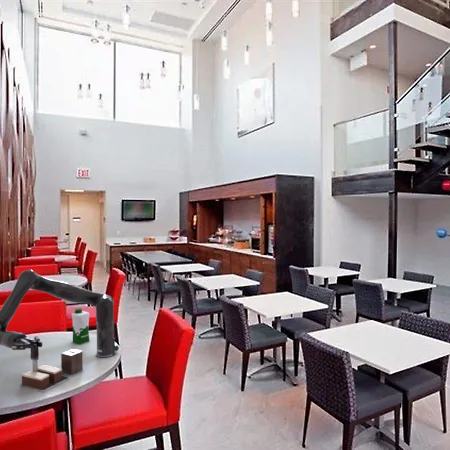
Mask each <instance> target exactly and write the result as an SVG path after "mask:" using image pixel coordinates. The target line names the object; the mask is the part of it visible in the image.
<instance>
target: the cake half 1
mask: <svg viewBox="0 0 450 450" xmlns="http://www.w3.org/2000/svg"><path fill="white" fill-rule="evenodd" d="M21 383H22V384H21V385H22V386H25V387H29V388H33V389H37V390H40V391H43V390H42V389H43V388H45V387H47V386H49V375H48V374H44V373H39V372H35V371H33V370H28V371H26V372H24V373H22V374H21Z"/></svg>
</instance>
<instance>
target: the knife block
mask: <svg viewBox="0 0 450 450" xmlns="http://www.w3.org/2000/svg"><path fill="white" fill-rule="evenodd" d="M60 360H61V361H60V364H61V365H60V367H61V368H60V369H62V374H65V375H68V376H74V375H75V374H77V373H79V372H81V371H83V370H84V369H83V367H84V366H83V350H81V349H74V348H71V349H68V350H66V351H64V352H62V353H60Z"/></svg>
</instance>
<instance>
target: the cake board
mask: <svg viewBox="0 0 450 450" xmlns="http://www.w3.org/2000/svg"><path fill="white" fill-rule="evenodd" d="M67 379H69V377H68V376H64V375H62V379H61V380H59V381H57V382H55V383H53V382H49V386H47V387H45V388H43V389H42V390H41V391H45V390H48V389H49V388H51V387H53V386H55V385H58V384H59V383H61V382H63V381H65V380H67ZM21 385H22V382H21Z"/></svg>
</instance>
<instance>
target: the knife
mask: <svg viewBox="0 0 450 450" xmlns="http://www.w3.org/2000/svg"><path fill="white" fill-rule="evenodd" d="M30 343H33V344H36V345H37V349H31V348H30V360H31V361H32V362H31V363H32V371H35V372H38V367H39V366H38V365H39V364H38V361H39V359H40V358H39V357H40V352H39V350H40V349H39V347H38V340H32V341H30Z"/></svg>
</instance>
